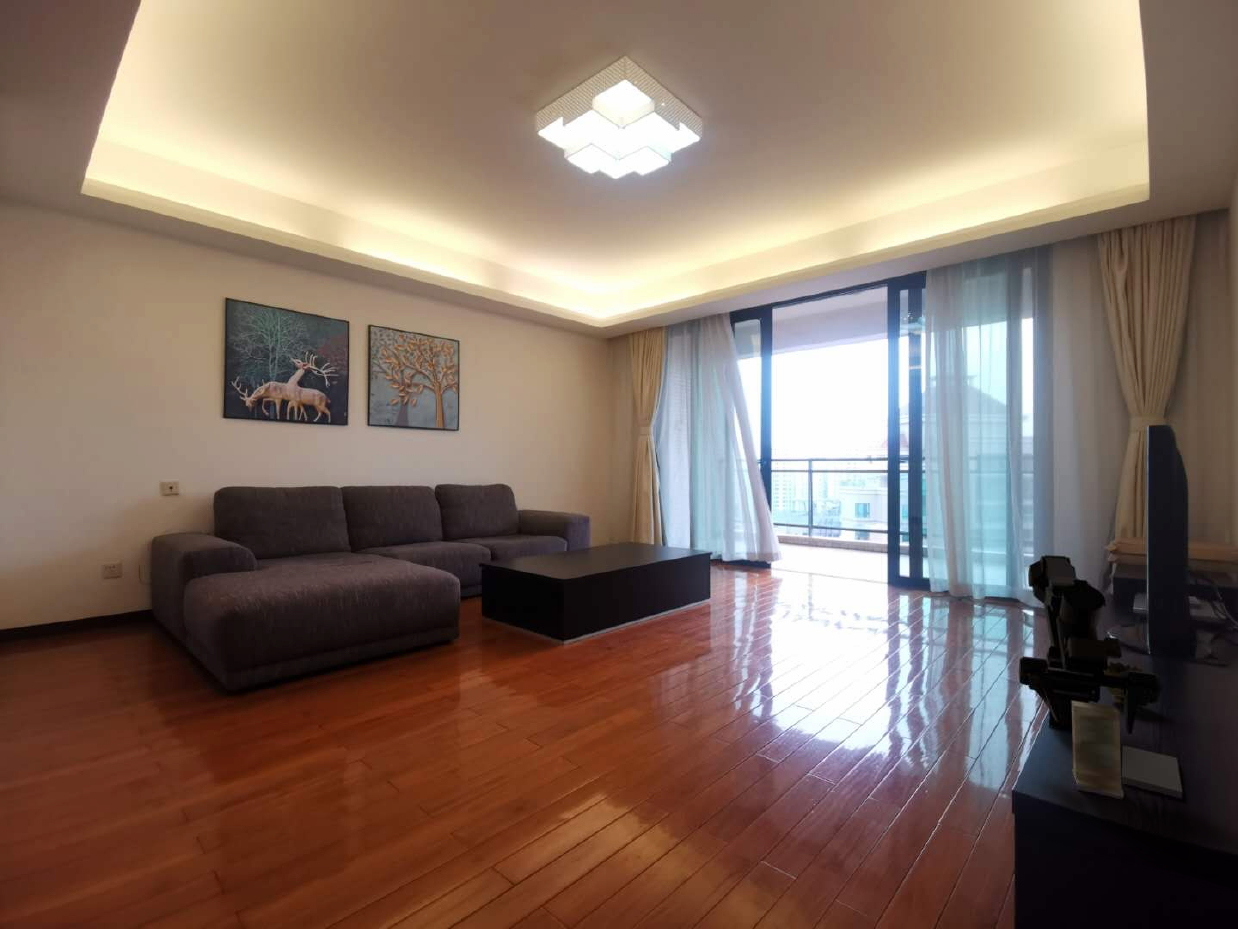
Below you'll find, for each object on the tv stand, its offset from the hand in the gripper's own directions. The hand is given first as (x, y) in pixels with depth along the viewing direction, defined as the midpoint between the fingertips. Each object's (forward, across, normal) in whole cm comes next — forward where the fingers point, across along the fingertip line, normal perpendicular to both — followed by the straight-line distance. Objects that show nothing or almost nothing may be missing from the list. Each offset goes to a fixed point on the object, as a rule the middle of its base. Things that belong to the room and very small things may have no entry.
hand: (1093, 726), depth 93 cm
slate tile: (+1, +8, +12) cm, 15 cm away
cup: (-25, +12, +37) cm, 46 cm away
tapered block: (+8, 0, +5) cm, 9 cm away
